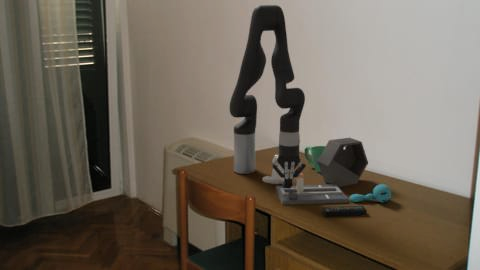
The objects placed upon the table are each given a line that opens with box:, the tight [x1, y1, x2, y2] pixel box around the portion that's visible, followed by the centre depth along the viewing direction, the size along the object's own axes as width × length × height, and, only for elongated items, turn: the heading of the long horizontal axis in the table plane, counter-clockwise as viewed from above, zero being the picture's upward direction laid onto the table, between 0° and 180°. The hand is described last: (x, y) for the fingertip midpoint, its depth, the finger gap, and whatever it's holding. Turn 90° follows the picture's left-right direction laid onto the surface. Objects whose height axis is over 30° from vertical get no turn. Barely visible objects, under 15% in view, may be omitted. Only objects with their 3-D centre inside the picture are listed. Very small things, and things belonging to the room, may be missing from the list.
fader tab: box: [296, 172, 305, 192], centre depth 187 cm, size 3×2×6 cm
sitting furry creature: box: [262, 153, 284, 186], centre depth 203 cm, size 10×9×12 cm
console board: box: [275, 181, 349, 206], centre depth 188 cm, size 16×24×4 cm, turn 95°
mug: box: [304, 145, 326, 174], centre depth 219 cm, size 15×10×10 cm
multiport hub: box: [321, 205, 368, 218], centre depth 171 cm, size 4×14×2 cm, turn 96°
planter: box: [317, 137, 369, 188], centre depth 201 cm, size 17×8×21 cm
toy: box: [348, 183, 392, 204], centre depth 182 cm, size 12×6×15 cm
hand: (288, 187), depth 187 cm, fingers closed
